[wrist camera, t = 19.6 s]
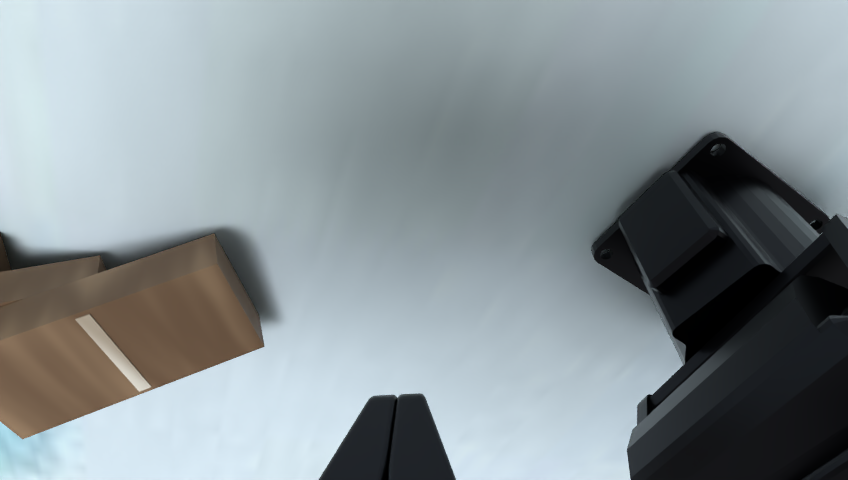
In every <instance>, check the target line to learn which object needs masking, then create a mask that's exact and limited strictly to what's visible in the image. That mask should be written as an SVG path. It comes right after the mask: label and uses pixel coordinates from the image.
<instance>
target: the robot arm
mask: <svg viewBox="0 0 848 480" xmlns="http://www.w3.org/2000/svg"><path fill="white" fill-rule="evenodd" d="M720 143H721V146H720V148H719V149H718V150H716V151H715V152H711V149H712V147H713V146H715V145H716V144H720ZM814 220H816V221H815V222H814V223H812V224H811V225H809V224H810V223H811V222H812V221H814ZM822 232H823V233H822ZM821 233H822V234H821ZM819 234H821V235H819ZM605 249H610V250H609V252H607V253H604V254H602V253H601V251H603V250H605ZM591 251H592V254H593V257H594V259H595V260H596V261H597V262H598V263H599V264H601V265H602V266H604V267H606V268H607V269H609V270H610V271H612V272H614V273H615V274H617V275H618V276H620V277H622V278H623V279H625V280H627V281H628V282H630V283H631V284H633V285H635V286H636V287H638V288H639V289H641V290H643V291H644V292H646V293H647V294H649V295H650V296H651V298H652V300H653V302H654V304H655V306H656V309H657V311H658V313H659V315H660V317H661V319H662V321H663V323H664V325H665V327H666V329H667V331H668V333H669V335H670V338H671V340H672V342H673V344H674V346H675V348H676V350H677V352H678V354H679V356H680V358H681V360H682V362H683V364H684V365H683V366H682V367H681V368H680V369H679V370H678V371H677V372H676V373H675V374H674V375H673V376H672V377H671V378H670V379H669V380H668V381H666V382H665V383H664V384H663V385H662V386H661V387H660V388H659V389H658V390H657V391H656V392H655V393H654V394H653V395H647V396H646V397H645V398H644V399H643V400H642V401H641V402H640V403H639V404H638V406H637V426H636V427H635V428H634V429H633V430H632V434H631V437H630V441H629V444H628V448H627V454H628V462H629V470H630V478H631V480H848V219H847V218H845V217H843V216H841V215H839V214H836V215H835V216H834V217H833V218H832V219H831V220H830V219H829V218H828V216H827V215H826V214H825V213H824V212H822V211H821V210H820V209H819V208H818V207H816V206H815V205H814V204H812V203H811V202H810V201H809V200H807V199H806V198H805V197H804V196H802V195H801V194H800V193H798V192H797V191H796V190H795V189H793V188H792V187H791V186H790V185H788V184H787V183H786V182H784V181H783V180H782V179H781V178H779V177H778V176H777V175H776V174H774V173H773V172H772V171H771V170H769V169H768V168H767V167H765V166H764V165H763V164H762V163H760V162H759V161H758V160H757V159H755V158H754V157H753V156H751V155H750V154H749V153H748V152H746V151H745V150H744V149H743V148H741V147H740V146H739V145H738V144H736V143H735V142H734V141H732V140H731V139H730V138H729V137H727V136H726V135H725V134H722V133H712V134H709V135H708V136H706V137H705V138H704V139H703V140H702V141H700V142H699V143H698V144H697V145H696V146H695V147H694V148H693V149H692V150H691V151H690V152H689V153H688V154H687V155H686V156H685V157H684V158H683V159H682V160H681V161H680V162H679V163H678V164H676V165H675V166H674V167H673V168H672V169H671V170H670V171H669V172H666V173H665V174H664V175H663V176H662V177H660V178H659V179H658V180H657V181H656V182H655V183H654V184H653V185H652V186H651V187H650V188H649V189H648V190H647V191H646V192H645V193H644V194H643V195H642V196H641V197H640V198H639V199H638V200H637V201H636V202H634V203H633V204H632V205H631V206H630V207H629V208H628V209H627V210H626V211H625V212H624V213H623V214H622V215H621V216H620V217H619V220H618V221H617V222H616V223H615V224H614V225H613V226H612V227H611V228H610V229H609V230H608V231H607V232H606V233H604V234H603V235H602V236H601V237H600V238H599V239H598V240H597V241H596V242H595V243H594V245H593V246H592V250H591ZM319 480H456V478H455V476H454V473H453V470H452V468H451V465H450V462H449V460H448V457H447V454H446V452H445V449H444V446H443V444H442V441H441V438H440V436H439V433H438V430H437V428H436V425H435V422H434V420H433V417H432V414H431V412H430V409H429V406H428V404H427V401H426V399H425V396H424V395H423V394H420V393H418V394H402V395H400V396H399V397H398V398H397V397H396V396H395V395H379V396H373V397H371V398H370V399H369V400H368V402H367V403H366V405H365V406H364V408H363V409H362V411H361V413H360V414H359V416H358V418H357V419H356V421H355V422H354V424H353V426H352V427H351V429H350V430H349V432H348V434H347V435H346V437H345V438H344V440H343V442H342V443H341V445H340V446H339V448H338V450H337V451H336V453H335V454H334V456H333V458H332V459H331V461H330V463H329V464H328V466H327V467H326V469H325V471H324V472H323V474H322V475H321V477H320V479H319Z"/></svg>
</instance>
